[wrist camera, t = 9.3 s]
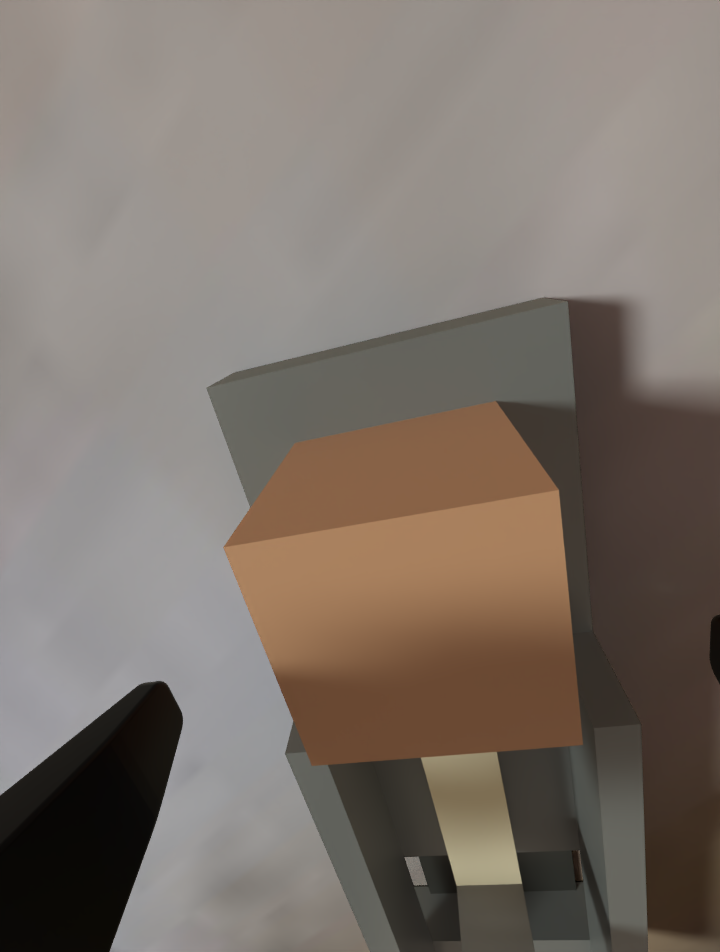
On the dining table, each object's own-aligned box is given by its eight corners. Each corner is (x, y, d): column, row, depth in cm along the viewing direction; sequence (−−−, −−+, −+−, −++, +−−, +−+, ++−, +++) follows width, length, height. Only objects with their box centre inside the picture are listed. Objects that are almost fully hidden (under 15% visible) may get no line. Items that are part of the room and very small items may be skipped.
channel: (601, 919, 22) (652, 1089, 17) (421, 922, 23) (424, 1078, 19) (543, 297, 12) (628, 310, 7) (234, 372, 13) (142, 422, 9)
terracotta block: (520, 576, 13) (583, 745, 8) (344, 601, 14) (311, 765, 9) (495, 401, 11) (558, 489, 6) (294, 442, 12) (223, 547, 7)
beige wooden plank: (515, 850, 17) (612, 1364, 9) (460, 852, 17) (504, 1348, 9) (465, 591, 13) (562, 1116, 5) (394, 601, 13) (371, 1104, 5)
